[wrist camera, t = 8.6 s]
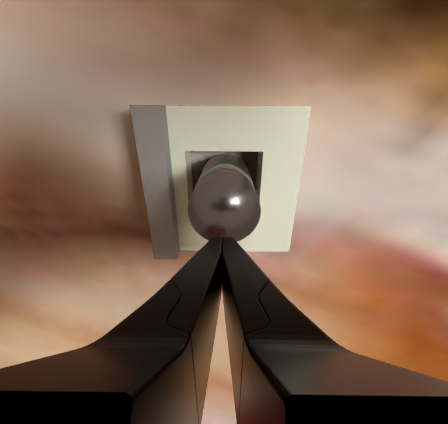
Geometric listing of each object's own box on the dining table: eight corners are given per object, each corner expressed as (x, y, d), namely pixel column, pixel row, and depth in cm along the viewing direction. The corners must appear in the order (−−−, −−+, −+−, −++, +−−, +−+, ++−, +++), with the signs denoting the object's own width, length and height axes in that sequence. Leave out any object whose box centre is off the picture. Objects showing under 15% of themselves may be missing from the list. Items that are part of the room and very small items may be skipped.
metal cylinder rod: (247, 200, 19) (258, 244, 13) (202, 199, 19) (190, 243, 13) (250, 153, 17) (263, 177, 11) (200, 153, 17) (185, 176, 11)
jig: (299, 107, 16) (318, 105, 13) (282, 236, 20) (292, 260, 17) (150, 106, 16) (129, 105, 13) (166, 235, 21) (154, 259, 17)
